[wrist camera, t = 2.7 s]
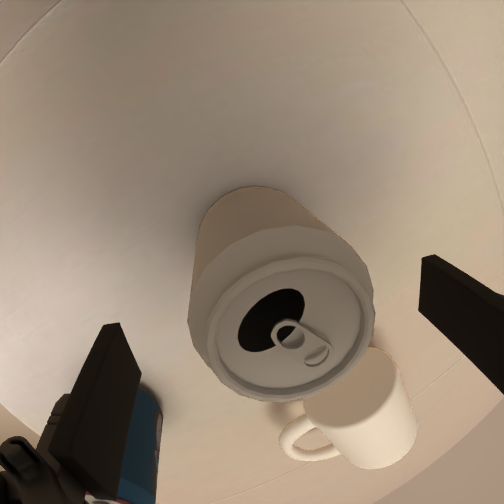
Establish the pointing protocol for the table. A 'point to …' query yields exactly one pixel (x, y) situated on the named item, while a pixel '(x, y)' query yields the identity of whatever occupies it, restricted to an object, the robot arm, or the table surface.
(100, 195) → the table surface
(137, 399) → the soda can
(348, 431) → the white coffee cup
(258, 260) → the can
